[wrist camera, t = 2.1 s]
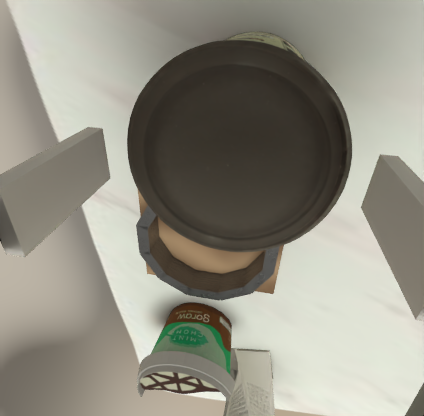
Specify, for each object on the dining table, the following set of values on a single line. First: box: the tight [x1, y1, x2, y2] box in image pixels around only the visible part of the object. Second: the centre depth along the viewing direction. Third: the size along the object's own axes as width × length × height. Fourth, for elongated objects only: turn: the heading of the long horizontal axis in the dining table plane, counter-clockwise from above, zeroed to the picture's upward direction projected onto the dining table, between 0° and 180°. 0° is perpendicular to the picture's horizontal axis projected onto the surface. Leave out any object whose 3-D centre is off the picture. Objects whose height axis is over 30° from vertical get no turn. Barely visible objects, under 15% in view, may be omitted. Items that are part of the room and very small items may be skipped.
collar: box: [136, 206, 280, 300], centre depth 31 cm, size 14×14×3 cm
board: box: [138, 190, 284, 294], centre depth 33 cm, size 16×16×1 cm
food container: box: [137, 303, 235, 401], centre depth 37 cm, size 12×6×10 cm, turn 107°
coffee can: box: [127, 32, 352, 252], centre depth 20 cm, size 10×10×14 cm
